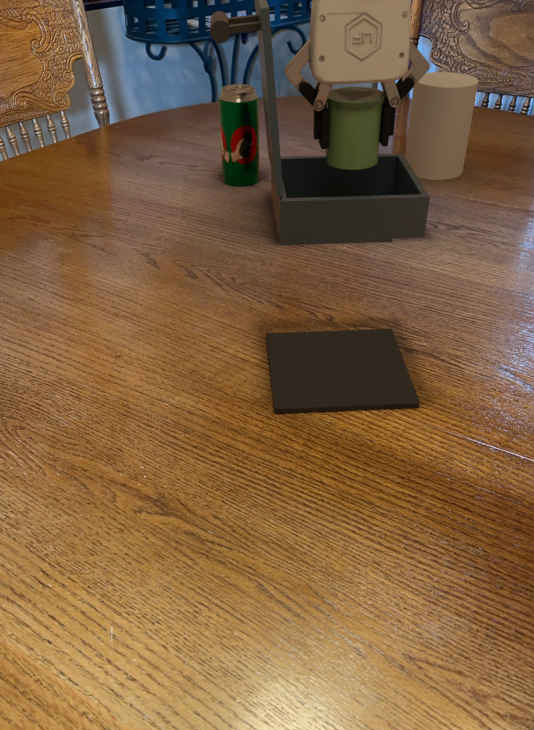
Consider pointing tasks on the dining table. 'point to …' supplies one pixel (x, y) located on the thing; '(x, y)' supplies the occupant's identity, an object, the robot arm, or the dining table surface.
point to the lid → (261, 24)
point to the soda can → (239, 135)
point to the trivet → (338, 371)
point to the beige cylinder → (440, 124)
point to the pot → (354, 127)
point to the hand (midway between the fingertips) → (352, 142)
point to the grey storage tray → (348, 202)
